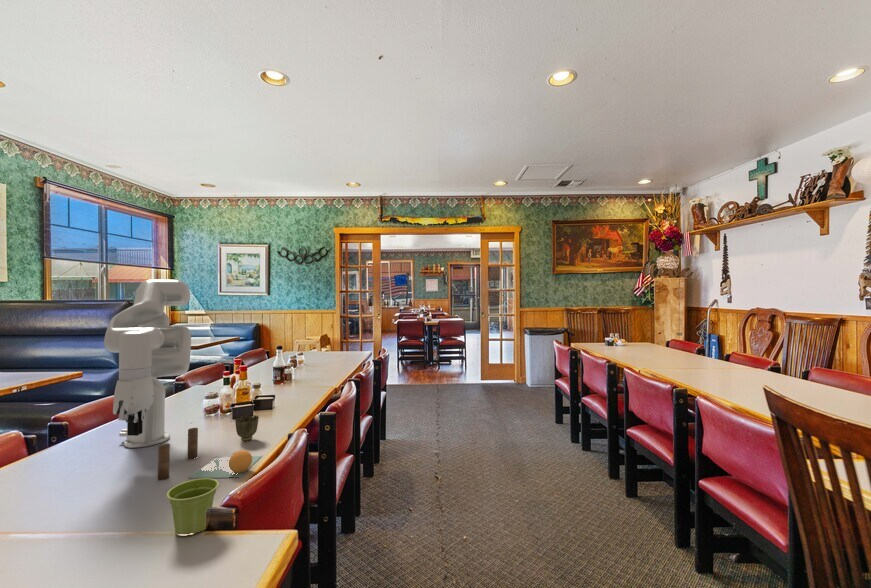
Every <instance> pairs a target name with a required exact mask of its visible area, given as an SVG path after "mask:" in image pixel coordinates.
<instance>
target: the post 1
mask: <svg viewBox="0 0 871 588" xmlns="http://www.w3.org/2000/svg"><path fill="white" fill-rule="evenodd" d="M170 450H171V444H170V443H162V444H161V443H160V444H159V445H158V446H157V480H158V481H165V480H167V479H169V478H170V462H171V461H170V458H171V457H170V452H171V451H170Z"/></svg>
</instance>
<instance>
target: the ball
mask: <svg viewBox="0 0 871 588" xmlns="http://www.w3.org/2000/svg"><path fill="white" fill-rule="evenodd" d="M230 457H231V458H230V460H229V467H230V469H231V470H232V471H233V472H235V473H242V472H244V471H246V470H247V469H248V468H249V467H250V466H251V464H252V454H251V452H249V451H248V450H244V449H240V450H236V451H235V452H234V453H233V454H232V455H231V456H230ZM246 472H247V471H246Z"/></svg>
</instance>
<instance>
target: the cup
mask: <svg viewBox="0 0 871 588" xmlns="http://www.w3.org/2000/svg"><path fill="white" fill-rule="evenodd" d="M259 418H260V417H259V415H255V414H254V415H253V416H251V414H249V415H248V414H245V415H244V416H243V415H241V416H238V417H236V418H235V419H234V422H235V423H234V424H235V431H236V434H237V436H238V437H240V440H241V442H242V441H243V443H246V442H247V441H248V442H250V441H252V440H253V438H254V437H253V436H254V435H255V434H256V432H257V430H258V427H259V426H258V425H259Z"/></svg>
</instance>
